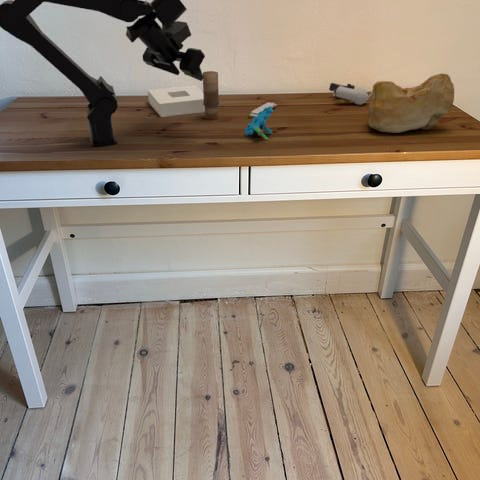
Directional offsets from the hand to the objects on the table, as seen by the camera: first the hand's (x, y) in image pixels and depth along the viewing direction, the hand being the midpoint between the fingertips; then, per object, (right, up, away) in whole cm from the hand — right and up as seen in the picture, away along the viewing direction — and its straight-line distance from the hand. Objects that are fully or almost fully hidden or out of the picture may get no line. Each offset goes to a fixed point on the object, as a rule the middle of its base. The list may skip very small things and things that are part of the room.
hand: (190, 76), depth 128 cm
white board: (-6, -2, +21) cm, 22 cm away
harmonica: (+21, -6, +18) cm, 28 cm away
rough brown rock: (+60, -12, +8) cm, 62 cm away
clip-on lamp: (+53, +1, +28) cm, 60 cm away
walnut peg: (+5, -8, +12) cm, 16 cm away
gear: (+19, -16, +1) cm, 25 cm away
